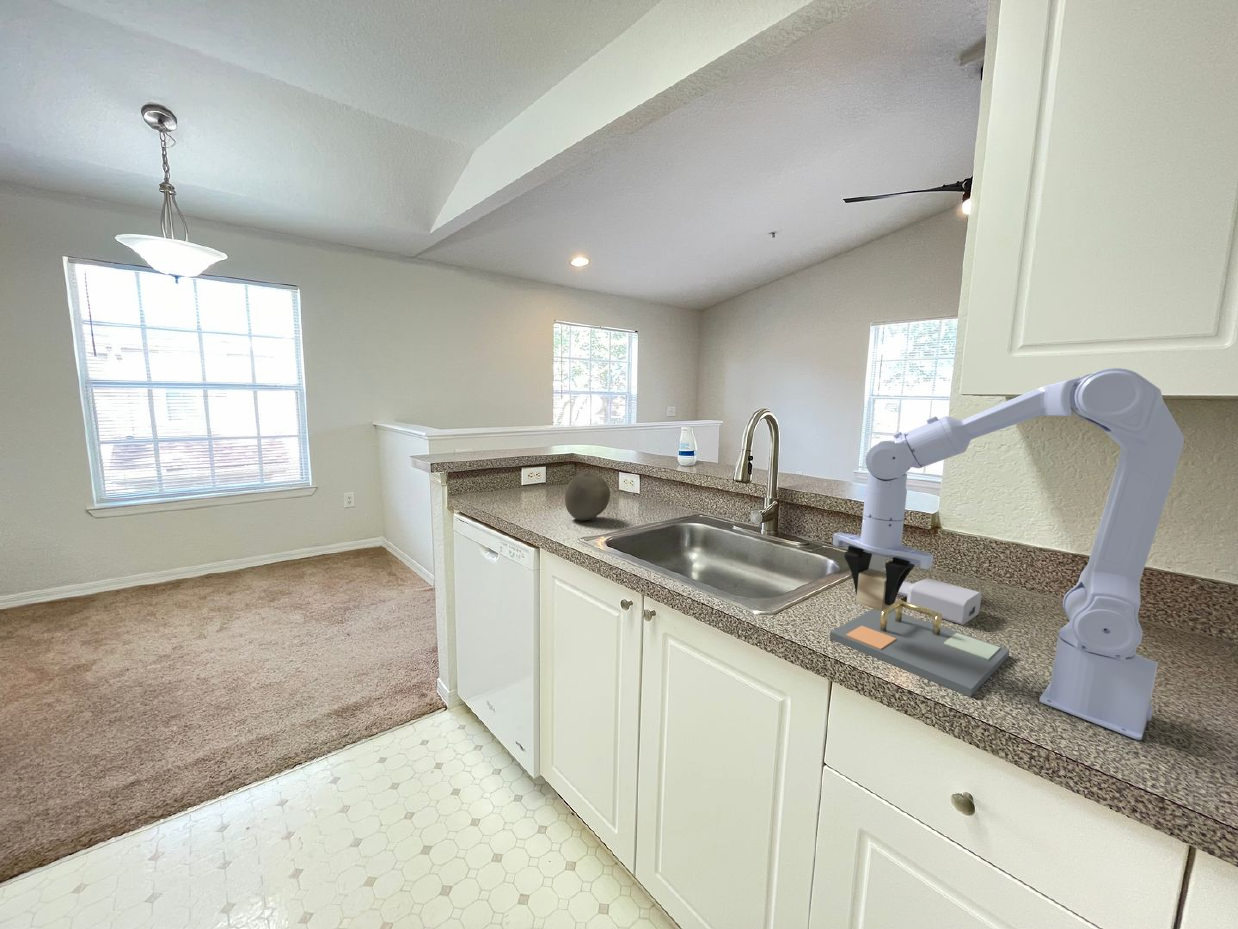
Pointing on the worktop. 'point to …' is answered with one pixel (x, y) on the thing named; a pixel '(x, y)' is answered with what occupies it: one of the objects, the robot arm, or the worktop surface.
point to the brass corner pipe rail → (899, 609)
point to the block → (872, 589)
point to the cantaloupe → (586, 496)
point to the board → (924, 649)
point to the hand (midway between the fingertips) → (874, 598)
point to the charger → (943, 599)
